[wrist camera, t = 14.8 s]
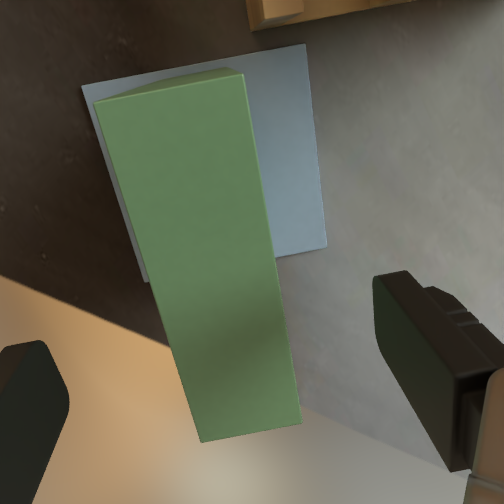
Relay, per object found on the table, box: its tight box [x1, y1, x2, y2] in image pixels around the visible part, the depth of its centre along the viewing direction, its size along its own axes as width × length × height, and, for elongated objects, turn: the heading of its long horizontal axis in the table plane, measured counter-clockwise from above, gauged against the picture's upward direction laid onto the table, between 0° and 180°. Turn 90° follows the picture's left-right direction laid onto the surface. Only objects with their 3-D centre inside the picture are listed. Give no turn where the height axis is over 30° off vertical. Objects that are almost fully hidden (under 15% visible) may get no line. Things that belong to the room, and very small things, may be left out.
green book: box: [93, 67, 303, 443], centre depth 18 cm, size 4×11×14 cm, turn 10°
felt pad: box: [81, 43, 327, 282], centre depth 25 cm, size 12×12×1 cm
